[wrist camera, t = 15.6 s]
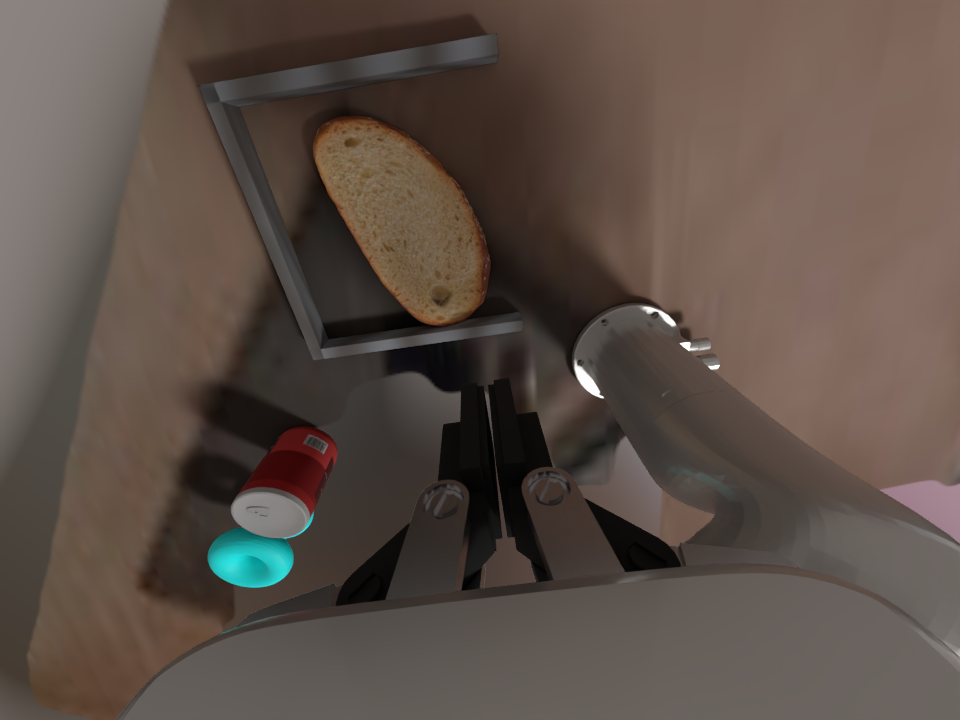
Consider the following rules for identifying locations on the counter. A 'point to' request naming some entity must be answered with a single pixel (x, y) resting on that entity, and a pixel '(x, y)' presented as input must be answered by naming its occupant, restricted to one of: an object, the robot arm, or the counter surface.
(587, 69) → the counter surface
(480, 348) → the counter surface
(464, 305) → the bread slice
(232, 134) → the corral
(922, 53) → the counter surface
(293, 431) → the canned food
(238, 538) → the donuts
